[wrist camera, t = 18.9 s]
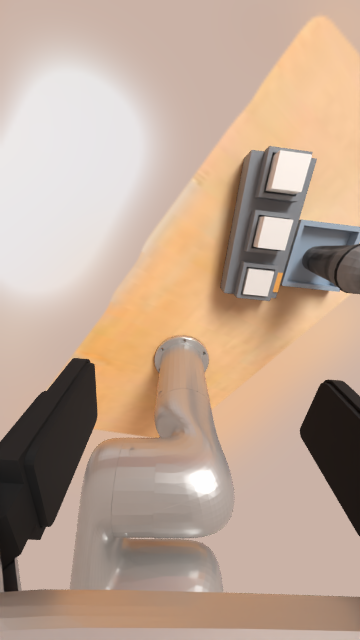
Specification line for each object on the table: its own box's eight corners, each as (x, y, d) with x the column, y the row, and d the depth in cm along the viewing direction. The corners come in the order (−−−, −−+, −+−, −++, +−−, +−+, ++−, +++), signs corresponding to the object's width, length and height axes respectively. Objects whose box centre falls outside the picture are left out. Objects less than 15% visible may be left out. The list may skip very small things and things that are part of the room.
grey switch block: (267, 292, 45) (285, 305, 37) (220, 287, 44) (228, 299, 37) (303, 165, 36) (334, 149, 29) (244, 157, 36) (261, 139, 28)
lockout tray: (331, 288, 45) (340, 291, 42) (276, 282, 44) (281, 285, 42) (355, 227, 40) (366, 227, 38) (294, 220, 39) (301, 219, 37)
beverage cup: (292, 278, 43) (377, 317, 25) (297, 239, 40) (398, 250, 22) (329, 275, 43) (442, 312, 25) (337, 236, 40) (472, 244, 22)
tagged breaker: (262, 292, 41) (267, 296, 38) (239, 290, 40) (243, 293, 38) (268, 269, 39) (274, 271, 37) (245, 266, 39) (249, 268, 36)
